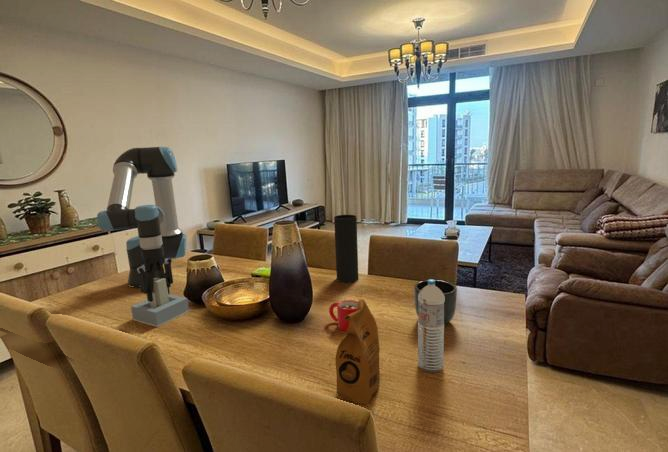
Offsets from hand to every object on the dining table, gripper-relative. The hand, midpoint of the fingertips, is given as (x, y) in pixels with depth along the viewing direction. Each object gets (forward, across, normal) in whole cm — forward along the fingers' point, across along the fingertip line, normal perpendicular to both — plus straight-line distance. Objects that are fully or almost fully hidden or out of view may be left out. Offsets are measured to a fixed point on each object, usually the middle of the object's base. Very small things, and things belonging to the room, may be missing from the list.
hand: (160, 305), depth 141 cm
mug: (+4, -21, +68) cm, 71 cm away
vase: (+4, -63, +49) cm, 80 cm away
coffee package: (+4, +9, +87) cm, 88 cm away
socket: (+4, 0, 0) cm, 4 cm away
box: (+3, 0, 0) cm, 3 cm away
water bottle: (+4, -8, +101) cm, 102 cm away
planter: (+4, -35, +96) cm, 102 cm away
